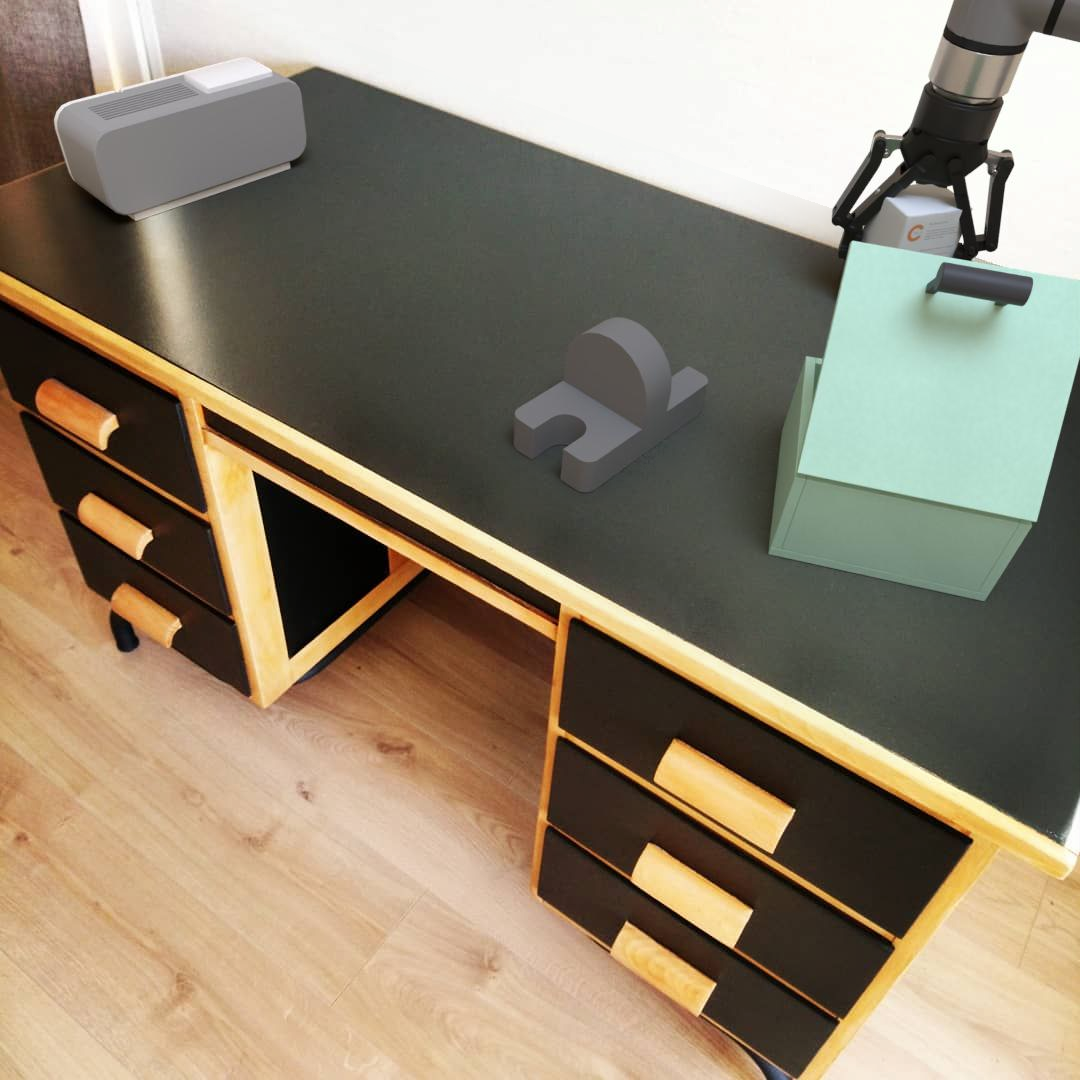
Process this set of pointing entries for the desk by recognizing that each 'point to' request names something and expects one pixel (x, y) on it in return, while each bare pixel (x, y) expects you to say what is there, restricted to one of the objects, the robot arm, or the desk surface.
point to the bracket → (609, 404)
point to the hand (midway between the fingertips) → (889, 292)
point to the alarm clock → (182, 136)
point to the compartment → (882, 523)
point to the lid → (944, 380)
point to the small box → (917, 221)
